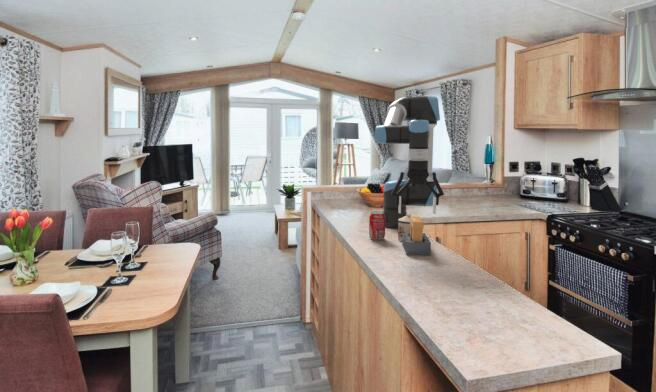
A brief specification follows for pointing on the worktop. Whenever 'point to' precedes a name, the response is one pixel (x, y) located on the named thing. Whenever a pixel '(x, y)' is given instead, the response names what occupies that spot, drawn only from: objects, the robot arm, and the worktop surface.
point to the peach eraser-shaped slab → (416, 228)
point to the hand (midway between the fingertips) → (416, 213)
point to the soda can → (377, 225)
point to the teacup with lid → (403, 226)
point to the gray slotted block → (416, 245)
